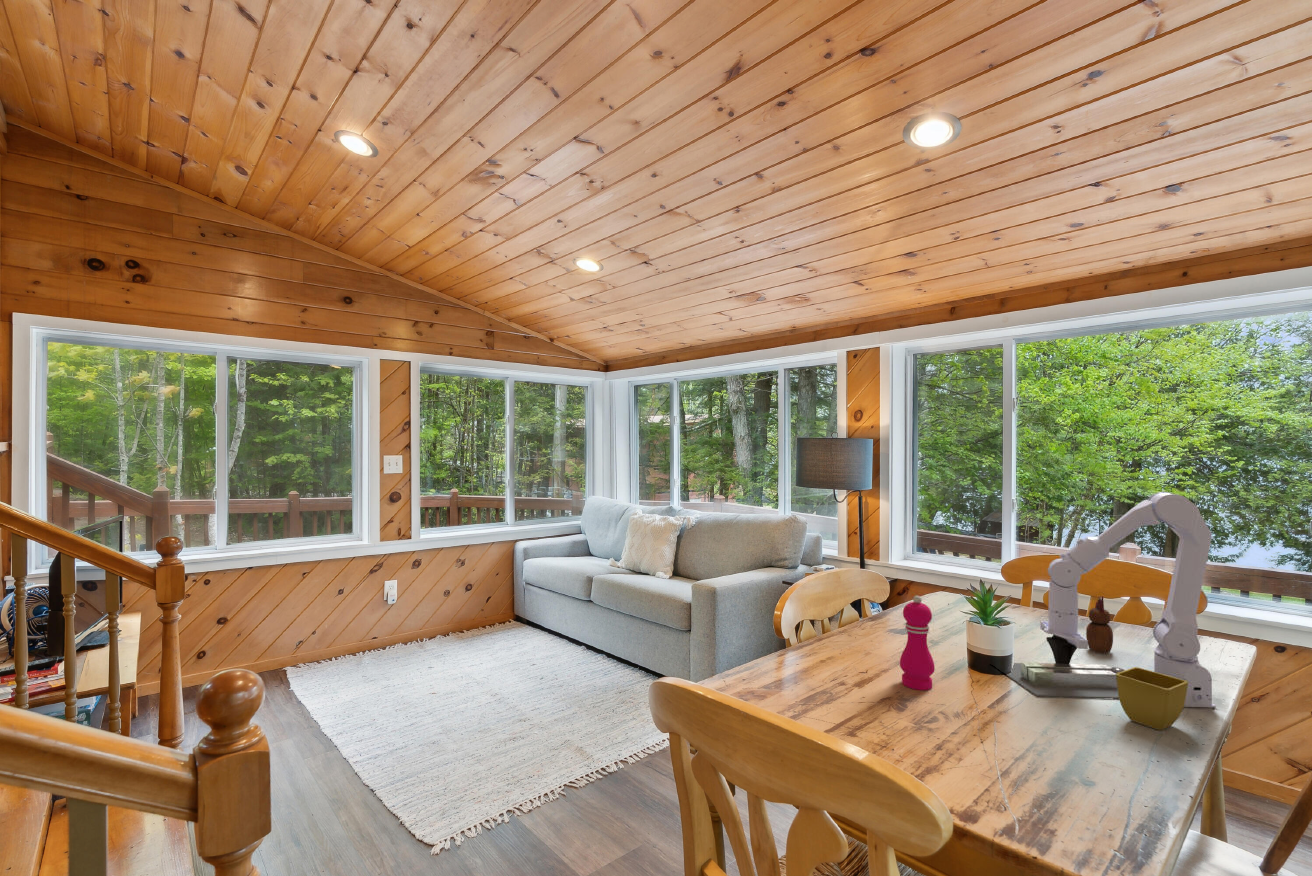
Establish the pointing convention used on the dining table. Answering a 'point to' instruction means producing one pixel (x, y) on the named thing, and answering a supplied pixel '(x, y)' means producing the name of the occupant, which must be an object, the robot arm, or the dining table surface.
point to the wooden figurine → (1099, 629)
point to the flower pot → (1151, 697)
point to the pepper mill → (917, 647)
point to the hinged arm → (1066, 667)
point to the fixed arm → (1072, 678)
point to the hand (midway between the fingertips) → (1062, 669)
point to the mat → (1061, 688)
